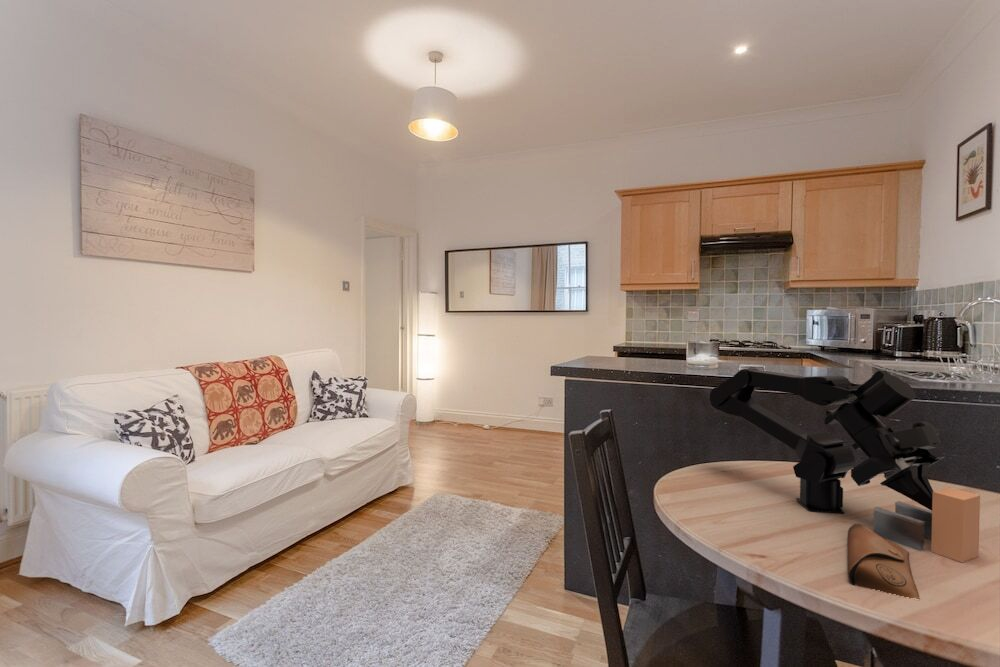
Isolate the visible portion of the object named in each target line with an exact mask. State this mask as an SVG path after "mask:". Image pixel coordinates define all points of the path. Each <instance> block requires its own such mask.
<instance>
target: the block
mask: <svg viewBox="0 0 1000 667" xmlns="http://www.w3.org/2000/svg"><path fill="white" fill-rule="evenodd" d="M933 491H934V492H933V498H932V540H930V542H931V546H930V551H931V553H934V554H937V555H940V556H941V557H945V558H947V559H950V560H953V561H956V562H959V563H965V562H968V561H971V560H973V559H976V558H978V557H979V556H980V555H979V554H980V553H979V552H980V516H981V514H980V513H981V494H975V493H971V492H968V491H964V490H961V489H956V488H952V487H945V488H942V489H938V490H933Z"/></svg>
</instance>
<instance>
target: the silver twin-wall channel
mask: <svg viewBox="0 0 1000 667" xmlns="http://www.w3.org/2000/svg"><path fill="white" fill-rule="evenodd" d="M894 503H895V504H894V505H895V506H894V507H895V508H894V509H895V510H894V511H892V510H888V509H885V508H882V507H880V506H876V507H875V506H874V507H873V530H872V531H873V532H874V533H876V534H877V535H879V536H880V537H882V538H884V539H886V540H888V541H891V542H893V543H894V542H895V543H897V544H900V545H903V546H905V547H909V548H911V549H914V550H917V551H919V552H922V551H924V550H925V549H924V548H925V547H924V546H925V539H927V540H930V541H931V540H932V511H931V510H930V509H928V508H925V507H924V508H923V507H920V506H917V505H913V504H910V503H906V502H903V501H899V500H897V501H894Z"/></svg>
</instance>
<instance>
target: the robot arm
mask: <svg viewBox="0 0 1000 667" xmlns="http://www.w3.org/2000/svg"><path fill="white" fill-rule="evenodd" d="M757 388H759V389H764V390H765V389H766V390H770V391H775V392H776V391H777V392H782V393H786V394H792V395H795V396H798V397H800V398H801V399H803V400H805V401H806V402H809V403H813V404H815V405H817V406H832V405H839V406H838V407H836V408H835V409H828V410H825V417H824V421H823V422H824V424H825V425H832V424H833V425H834V424H839V426H841V428H842V429H843V430H844V431H845V433H846V434H847V435H848V436H849V437H850V438H851V439H852V440H853V442H854V443H852V445H851V446H852V448H853V449H854V450H855V451H857V450H861V451H862V452H863V453H864V454H865V455H866V457H867V459H865V460H864V461H862V462H860V463H859V464H857V465H856V466H855V463H856V462H855V461H856V460H855V459H856V458H855V456H854V453H853V450H852V449H851V448H850V447H849V446H848V445H846V441H845V440H841V439H839V438H836V437H835V436H833V435H832V434H831V433H829V432H827V431H821V432H816V433H815V432H813V433H809V432H807V431H806V430H804V429H802V428H800V427H798V426H797V425H796V424H793V423H791V422H789V421H788V420H786V419H784V418H782V417H781V416H779V415H777V414H775V413H774V412H772V411H770V410H769V409H767V408H765V407H764V406H762V405H760V404H759V403H757V402H756V401H755V400H754V399H753V395H754V393H755V392H756V389H757ZM916 398H917V394H916V392H915V390H914V388H912V386H911V385H910V384H909V383H908V382H906V381H903V380H902V379H900V378H898V377H897V376H895V375H892V374H890V373H889V372H888V371H887V370H886V369H884V370H881V369H880V370H877V371H876V372H875V373H873V375H872V376H871V377H870V378H869V379H867V381H865V382H864V383H862V384H858V383H854V382H851V381H850V380H849V378H848V377H846V376H843V375H836V374H835V375H813V376H803V375H796V374H789V373H784V372H783V373H782V372H776V371H775V372H774V371H768V370H760V369H758V368H743V369H740V370H739V371H737V372H736V373H735V374H734V375H733V376H732V377H730V378H729V379H727V380H725V381H723V382H721V383H720V384H719V385H718V386H715V387H713V388H712V389H711V390H710V393H709V401H710V406H711V408H713V409H715V410H716V411H718V412H721V413H724V414H726V415H730V416H735V417H739V418H741V419H742V420H745V421H746V422H747V423H749V424H751V425H753V426H754V427H756V428H758V429H759V430H761V431H762V432H765V434H767V435H769V436H770V437H772V438H773V439H776V440H777V441H779V442H780V443H782V444H783V445H785V446H786V447H788V448H790V449H791V450H793V451H794V452H795V454H796V455H797V457H798V459H799V460H800V461H799V462H798V463H795V465H793V467H792V468H793V471H794V475H795V477H796V478H798V479H799V480H800V481H799V497H796V502H798V503H799V504H800V505H801V506H802V507H803V508H805V509H806V510H807V511H808V512H812V513H827V514H839V515H844V514H845V511H844V510H843V509H842V508H843V507H844V488H843V487H842V485H841V482H842V481H841V479H845V478H846V475H847V473H848V472H849V471H850V477H851V479H852V480H853V481H854V482H855V484H856V485H857V486H858V487H861V486H866V485H868V484H870V483H871V480H872V479H873V478H876V477H877V476H878V475H881V474H883V478H884V480H883V481H881V482H880V485H881V486H884V487H887V488H889V489H891V490H893V491H895V492H897V493H899V494H900V495H903V496H905V498H906V497H907V498H908V499H910V500H912V501H913V502H916V503H917V504H919V505H921V506H923V507H924V508H925V509H927V510H930V511H932V498H933V492H934V491H935V490H934V489H933V487H932V485H931V483H930V481H929V478H928V471H929V468H930V467H931V466H933V465H934V464H936V463H937V462H939V461H941V460H942V459H944V458H945V457H946V455H945V454H944V453H943V452H942V451H941V450H940V449H939V448H938V447H936V446H932V445H937V444H941V443H942V441H941V440H940V438H939V435H940V434H941V430H940V429H938V428H936V427H935V425H934V424H931V423H930V422H929V421H927V420H925V421H924V420H923V421H920V422H914V423H912V427H911V428H909V429H904V430H900V431H899V430H898V429H897V428H896V427H895V426H892V425H891V426H886V425H884V423H883V422H882V421H881V420H880V419H879V418H878V417H879V416H880V417H885V418H888V417H890V416H891V415H893V414H895V413H896V412H898V411H899V410H900V409H901V408H903V407H905V406H906V405H907V404H909V403H910V402H912V401H913V400H914V399H916ZM852 399H854V400H853V401H852V402H849V401H850V400H852Z"/></svg>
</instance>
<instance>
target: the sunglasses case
mask: <svg viewBox="0 0 1000 667" xmlns="http://www.w3.org/2000/svg"><path fill="white" fill-rule="evenodd" d="M911 568H912V567H911V563H910V551H909V550H907V549H905V548H904V547H903V546H900V545H897V544H896V543H894V542H893V541H891V540H889V539H886V538H883V537H881V536H879V535H877V534H876V533H874V532H873V530H872V529H869V527H867V526H865V525H863V524H861V523H854V524H852V525H851V526H850V527H849V528H848V531H847V575H848V579H849V581H850V582H851V584H852V585H853V586H857V587H861V588H865V589H868V588H870V589H869V590H872V589H875V590H874V591H877V590H880V591H879V592H881V591H883V592H882V593H885V592H886V594H889V593H891V594H890V595H893V594H896V595H895V596H897V595H899V596H898V597H901V596H904V597H903V598H906V597H909V598H908V599H911V598H916V599H920V600H921V598H920V594H919V591H918V588H917V584H916V583H915V579H914V576H913V572H912V569H911Z"/></svg>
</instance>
